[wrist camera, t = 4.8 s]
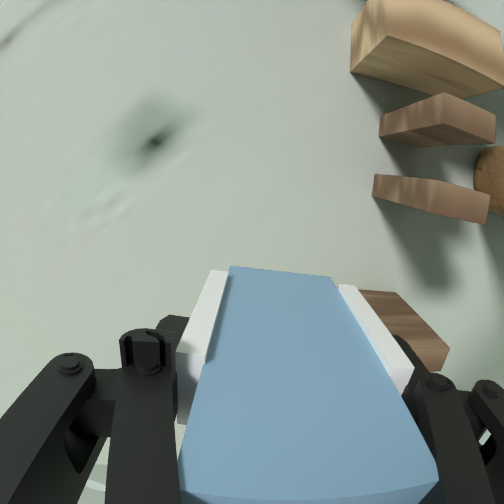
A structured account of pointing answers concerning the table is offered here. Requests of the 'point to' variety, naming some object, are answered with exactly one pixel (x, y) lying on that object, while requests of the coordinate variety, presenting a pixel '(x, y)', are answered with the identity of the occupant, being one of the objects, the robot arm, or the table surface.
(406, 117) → the domino
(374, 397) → the domino
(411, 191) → the domino
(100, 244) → the table surface
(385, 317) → the domino
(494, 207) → the bread loaf
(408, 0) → the end block
